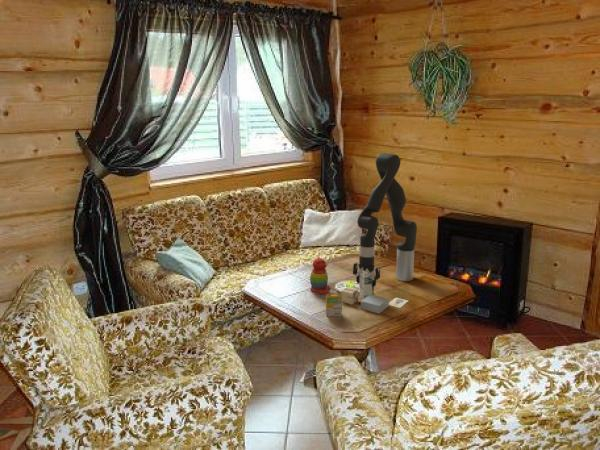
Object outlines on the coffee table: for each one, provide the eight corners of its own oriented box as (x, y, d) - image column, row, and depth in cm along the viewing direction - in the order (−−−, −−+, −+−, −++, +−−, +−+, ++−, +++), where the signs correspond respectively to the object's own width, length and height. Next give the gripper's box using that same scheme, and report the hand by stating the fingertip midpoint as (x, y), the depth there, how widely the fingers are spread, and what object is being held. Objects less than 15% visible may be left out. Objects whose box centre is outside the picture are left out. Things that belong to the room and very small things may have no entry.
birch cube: (347, 297, 256) (347, 286, 255) (357, 300, 253) (358, 289, 251) (341, 301, 252) (341, 290, 250) (351, 304, 248) (352, 293, 247)
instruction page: (395, 297, 255) (395, 297, 255) (408, 300, 251) (408, 300, 251) (386, 304, 247) (386, 304, 247) (400, 308, 243) (400, 307, 243)
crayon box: (341, 313, 239) (341, 290, 236) (342, 316, 236) (342, 293, 233) (326, 313, 238) (325, 291, 235) (326, 316, 236) (326, 293, 232)
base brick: (370, 301, 251) (370, 294, 250) (388, 306, 245) (388, 298, 244) (360, 308, 243) (360, 301, 242) (379, 313, 238) (379, 305, 236)
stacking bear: (327, 295, 260) (327, 262, 255) (308, 293, 262) (308, 261, 257) (330, 287, 270) (330, 255, 265) (312, 285, 272) (311, 254, 267)
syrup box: (363, 298, 254) (363, 272, 250) (359, 294, 260) (359, 268, 256) (373, 297, 256) (374, 270, 252) (369, 293, 261) (369, 266, 257)
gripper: (383, 254, 250) (382, 285, 255) (358, 250, 259) (357, 279, 263) (376, 258, 245) (375, 290, 249) (350, 253, 253) (350, 284, 257)
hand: (366, 284), depth 256 cm, fingers open, 8 cm apart
